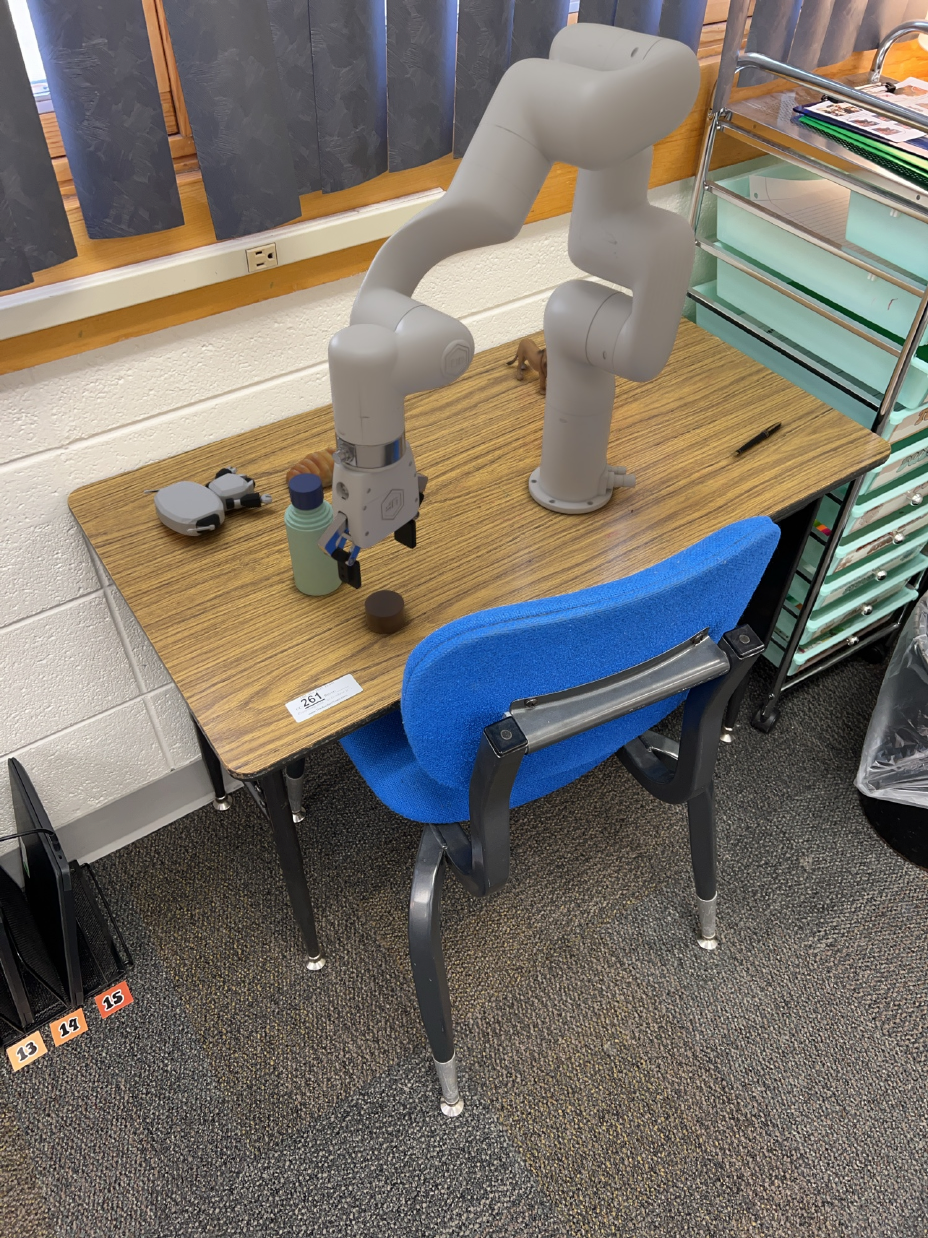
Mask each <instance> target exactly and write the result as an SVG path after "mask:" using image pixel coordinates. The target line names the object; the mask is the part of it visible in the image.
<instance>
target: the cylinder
mask: <svg viewBox="0 0 928 1238" xmlns="http://www.w3.org/2000/svg"><path fill="white" fill-rule="evenodd" d="M405 606H406V605H405V599H404V597H403V596H402V595H401V594H400V593H398V592H397V591H394V590H391V589H381V590H377V591H374V592H372V593H370V594H369V595H368V596H367V597H366V599H365V601H364V612H365V621H366V623H365V624H366V626H367V627H368V628H369V629H370V630H371V631H372V632H374V633H377V634H381V635H384V634H385V635H388V634H393V633H395V632H398V631H399V630H400V629H401V628H403V627H404V624H405V623H406V609H405Z"/></svg>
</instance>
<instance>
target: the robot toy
mask: <svg viewBox="0 0 928 1238" xmlns="http://www.w3.org/2000/svg"><path fill="white" fill-rule="evenodd" d="M237 472H238V469H237V467H233V466H227V467H222V468H220V470H218V471H217V472H216V473H215V476H214V480H212V481H208V482H207V483H206V484H205V485H203V484H200V483H198V482H195V481H189V480H181V481H178V482H175V483H173V484H170V485H167V486H165V487H162V488H158V489H151V490H149V489H147V490H144V491H143V492H142V493H143V494H145V495H149V494H152V493H155V494H154V498H153V501H154V507H155V512H156V515H157V517H158V519H159V520H160V521H161V523H162V524H163V525H164V526H166V527H168V528H169V529H171V530H172V531H175V532H176V533H179V534H181V535H184V536H193V537H198V536H201V535H203V534H206V533H209V532H211V531H214V530H216V529H217V528H219V527H221V526H222V524H223V523H224V521H225V512H228V511H231V510H235V509H236V510H238V509H242V508H246V509H258V508H262V504H264V505H269V504H272V502H273V498H272V495H271V494H270V493H263V494H262V495H260V492H255V487H256V481H255V480H254V478H252V477H248V475H247V474H245V473H239V474H238V473H237Z"/></svg>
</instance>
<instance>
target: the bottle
mask: <svg viewBox="0 0 928 1238" xmlns="http://www.w3.org/2000/svg"><path fill="white" fill-rule="evenodd" d="M283 520H284V525H285V531H286V532H285V533H286V537H287V543H288V550H289V556H290V561H291V568H292V575H293V579H294V585H295V587H296V589H297V590H298V591H299V592H301V593H303V594H305V595H308V596H313V597H319V596H326V595H328V594H331V593H333V592H335V591H336V590H337V589H339V587H340V586H341V585H342V583H343V582H342V581H341V580H340V578H339V575H338V565H337V561H336V560H334V559H333V558H331V557H329V556H327V555H326V554H324V552H323V551H322V550H321V548H320V547H319V546H318V545H317V542H318V540H319V538H320V537H321V536H322V534H323V533H324V532H325V531H326V529H327V528H328V527H329V525H330V524H331V523H332V521H333V520H334V519H333V507H332V504H331V503H330V502H328V501H327V500H325V499H324V500H323V503H322V504H321V505H320V506H319V507H317V508H315V509H312V510H300V509H297V508H295V507H294V506H293V505H292V503H290V504H289V505H288V506H287V508H286V510H285V512H284V516H283Z"/></svg>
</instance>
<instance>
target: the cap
mask: <svg viewBox="0 0 928 1238" xmlns="http://www.w3.org/2000/svg"><path fill="white" fill-rule="evenodd" d="M288 492H289V500H290V502H291V503H292V505H293V506H294V507H295V508H297V509H300V510H312V509H315V508H317V507H319V506H320V505H321V504H322V503H323V500H325V499H324V498H325V495H324V487H323V486H322V482H321V479H320V477H318V476H317V475H315V474H311V473H303V474H299V475H296V476H294V477H293V478H291V479H290V481H289V486H288ZM291 503H290V504H291Z"/></svg>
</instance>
